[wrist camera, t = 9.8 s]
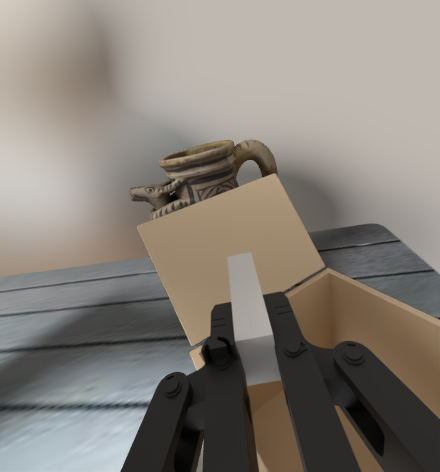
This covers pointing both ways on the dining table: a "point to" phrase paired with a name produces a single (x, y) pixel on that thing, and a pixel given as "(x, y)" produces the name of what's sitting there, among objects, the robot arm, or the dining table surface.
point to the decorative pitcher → (202, 174)
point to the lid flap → (228, 249)
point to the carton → (328, 336)
